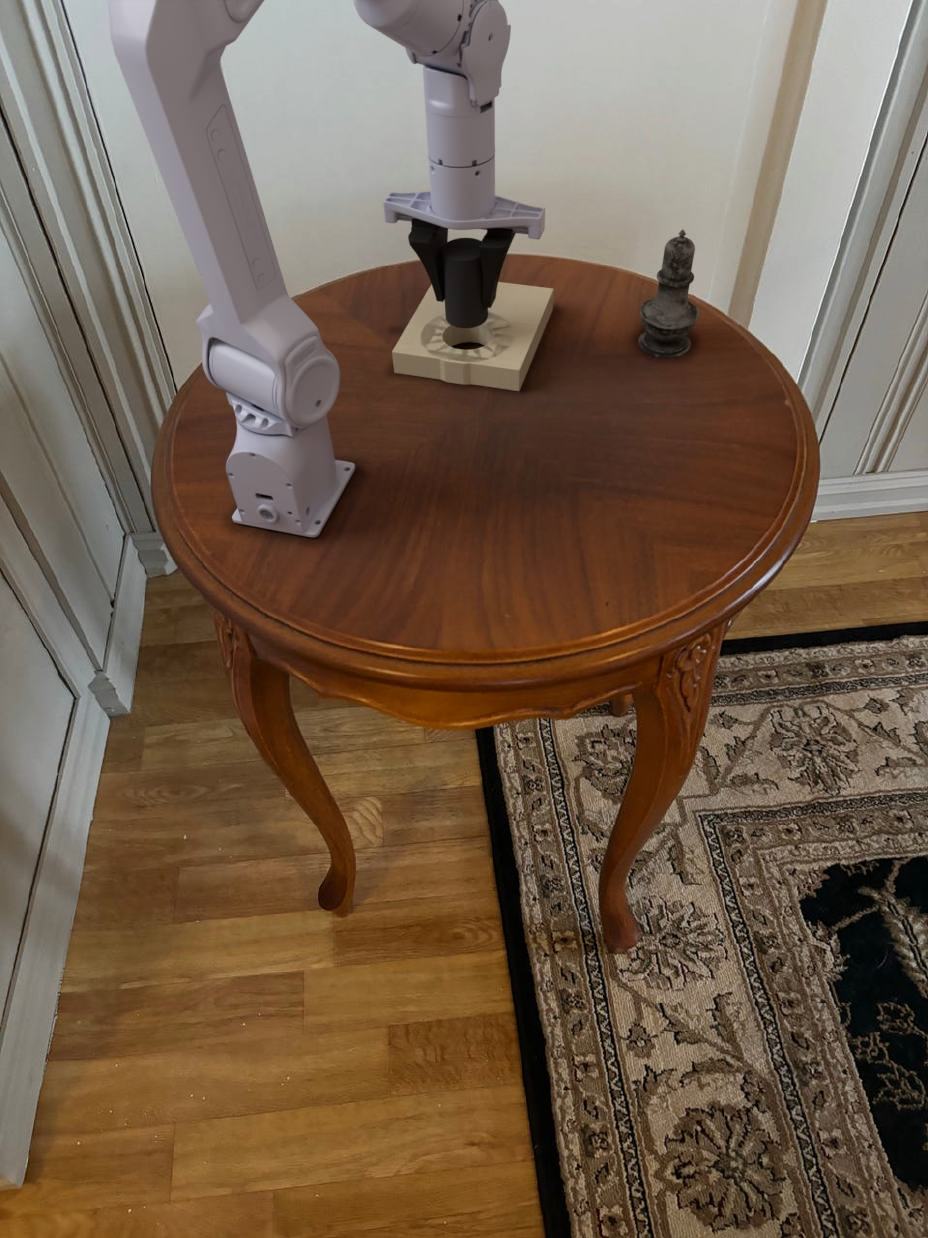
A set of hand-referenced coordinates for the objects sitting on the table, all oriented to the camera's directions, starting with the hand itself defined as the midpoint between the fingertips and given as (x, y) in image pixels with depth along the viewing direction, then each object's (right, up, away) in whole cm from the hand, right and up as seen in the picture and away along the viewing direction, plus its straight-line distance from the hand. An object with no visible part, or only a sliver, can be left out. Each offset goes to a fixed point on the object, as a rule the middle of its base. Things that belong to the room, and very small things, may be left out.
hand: (466, 299), depth 86 cm
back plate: (+1, -2, +7) cm, 7 cm away
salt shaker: (+20, -3, +5) cm, 21 cm away
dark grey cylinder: (0, -1, +1) cm, 2 cm away
